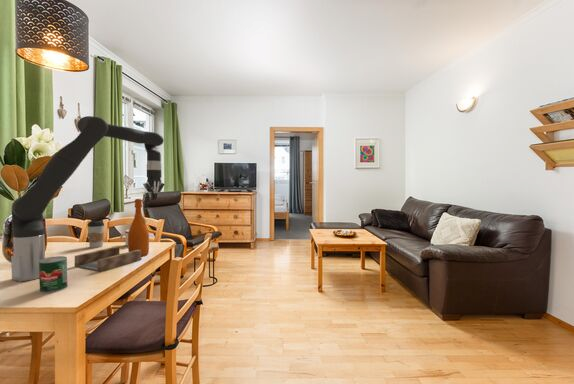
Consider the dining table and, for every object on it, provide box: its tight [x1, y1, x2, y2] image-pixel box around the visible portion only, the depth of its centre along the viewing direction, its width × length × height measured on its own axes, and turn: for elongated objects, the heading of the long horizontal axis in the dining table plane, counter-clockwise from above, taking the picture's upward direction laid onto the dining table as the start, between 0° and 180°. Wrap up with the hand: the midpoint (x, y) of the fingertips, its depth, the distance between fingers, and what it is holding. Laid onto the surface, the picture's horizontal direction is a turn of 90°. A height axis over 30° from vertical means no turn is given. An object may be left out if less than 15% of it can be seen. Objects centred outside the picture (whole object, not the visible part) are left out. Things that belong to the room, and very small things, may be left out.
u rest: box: [74, 246, 142, 273], centre depth 132 cm, size 20×18×5 cm
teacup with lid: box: [119, 228, 130, 247], centre depth 169 cm, size 12×9×12 cm
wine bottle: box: [127, 198, 150, 257], centre depth 146 cm, size 10×10×30 cm
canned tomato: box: [38, 255, 69, 294], centre depth 100 cm, size 8×8×11 cm
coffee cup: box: [87, 220, 105, 249], centre depth 163 cm, size 8×8×15 cm
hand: (154, 199), depth 155 cm, fingers closed
